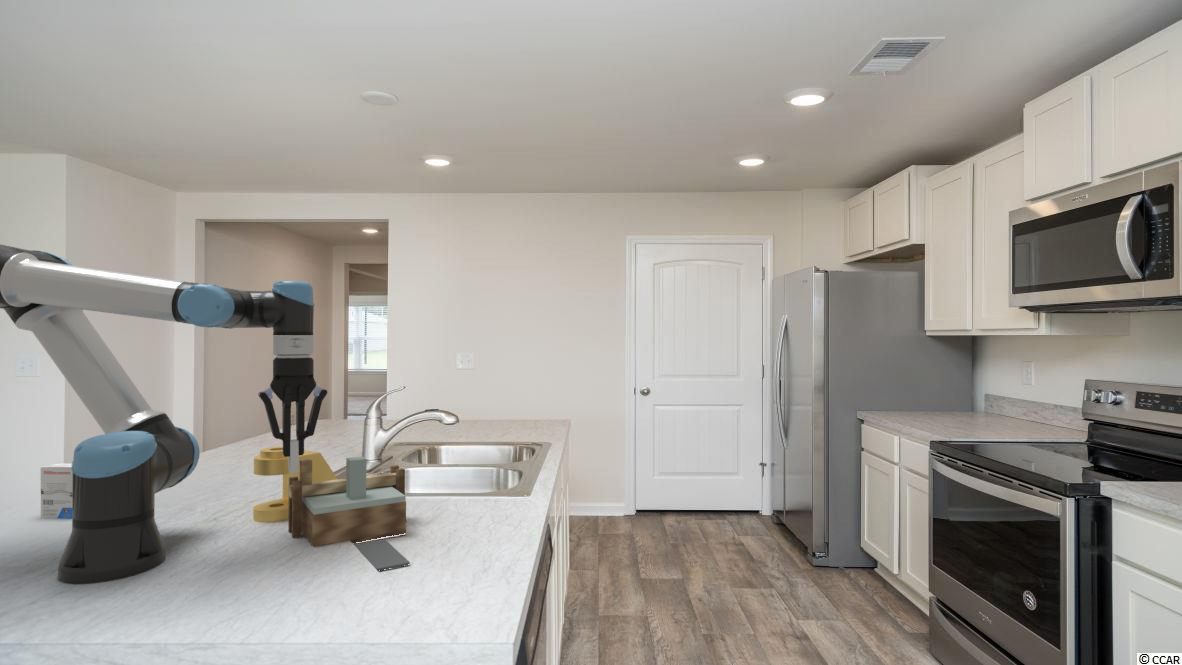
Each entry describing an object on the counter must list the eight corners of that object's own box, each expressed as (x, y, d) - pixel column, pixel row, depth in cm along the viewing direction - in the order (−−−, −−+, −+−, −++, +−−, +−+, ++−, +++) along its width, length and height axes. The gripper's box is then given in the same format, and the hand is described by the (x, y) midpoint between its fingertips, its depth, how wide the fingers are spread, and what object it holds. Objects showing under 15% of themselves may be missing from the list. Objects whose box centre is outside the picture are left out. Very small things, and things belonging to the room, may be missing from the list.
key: (290, 498, 127) (291, 462, 127) (288, 495, 129) (289, 460, 129) (403, 483, 140) (403, 451, 140) (400, 481, 142) (400, 450, 142)
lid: (313, 514, 120) (314, 466, 121) (301, 500, 131) (302, 456, 131) (405, 501, 131) (405, 457, 131) (387, 489, 141) (387, 448, 141)
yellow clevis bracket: (269, 528, 134) (270, 454, 135) (244, 522, 139) (244, 450, 139) (347, 507, 152) (347, 441, 152) (322, 502, 156) (322, 438, 157)
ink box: (93, 513, 145) (93, 462, 145) (73, 520, 140) (74, 467, 140) (59, 512, 146) (60, 461, 146) (38, 518, 141) (39, 466, 141)
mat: (288, 590, 102) (288, 586, 102) (274, 562, 114) (274, 559, 114) (409, 565, 113) (409, 562, 113) (385, 542, 126) (385, 539, 126)
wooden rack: (300, 553, 119) (300, 490, 119) (288, 535, 130) (288, 477, 130) (416, 533, 132) (417, 476, 132) (396, 517, 143) (397, 465, 143)
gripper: (260, 357, 121) (259, 479, 121) (331, 356, 129) (331, 471, 129) (255, 356, 128) (255, 472, 128) (323, 355, 135) (323, 465, 135)
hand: (293, 471), depth 128 cm, fingers closed
